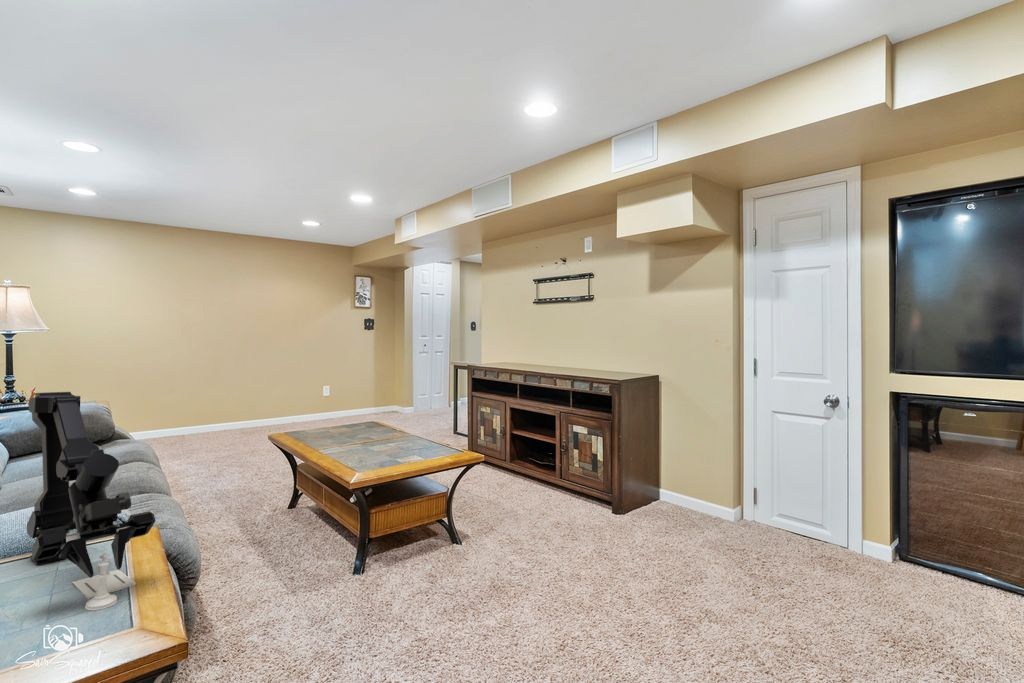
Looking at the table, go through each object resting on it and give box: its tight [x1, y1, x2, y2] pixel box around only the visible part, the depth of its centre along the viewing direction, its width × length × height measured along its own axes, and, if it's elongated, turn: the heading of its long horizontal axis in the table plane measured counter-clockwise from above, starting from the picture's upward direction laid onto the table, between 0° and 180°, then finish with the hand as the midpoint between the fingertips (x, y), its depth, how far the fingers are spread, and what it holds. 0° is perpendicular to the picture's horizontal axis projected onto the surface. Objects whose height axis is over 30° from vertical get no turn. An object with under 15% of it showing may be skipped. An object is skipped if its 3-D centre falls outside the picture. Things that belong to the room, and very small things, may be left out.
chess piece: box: [84, 552, 118, 611], centre depth 99 cm, size 5×5×10 cm
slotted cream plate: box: [71, 569, 137, 600], centre depth 106 cm, size 10×8×1 cm
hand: (105, 572), depth 98 cm, fingers open, 4 cm apart
